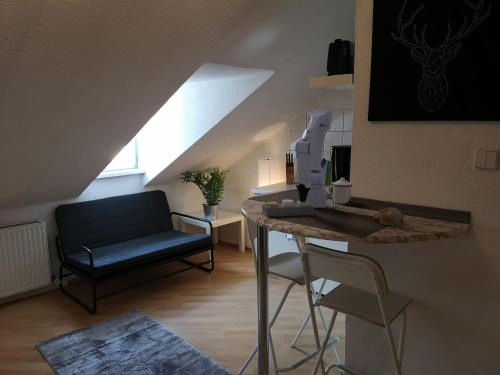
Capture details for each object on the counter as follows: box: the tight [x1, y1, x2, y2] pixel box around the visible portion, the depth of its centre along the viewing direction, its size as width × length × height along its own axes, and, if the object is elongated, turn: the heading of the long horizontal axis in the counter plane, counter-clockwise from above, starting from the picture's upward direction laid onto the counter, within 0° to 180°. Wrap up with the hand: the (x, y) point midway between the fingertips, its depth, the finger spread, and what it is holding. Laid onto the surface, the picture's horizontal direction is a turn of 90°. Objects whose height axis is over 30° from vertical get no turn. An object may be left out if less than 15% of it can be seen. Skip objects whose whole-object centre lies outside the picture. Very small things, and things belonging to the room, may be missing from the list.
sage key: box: [296, 200, 309, 206], centre depth 173 cm, size 4×4×4 cm
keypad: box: [261, 202, 315, 217], centre depth 172 cm, size 20×8×4 cm, turn 100°
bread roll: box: [374, 206, 405, 227], centre depth 158 cm, size 10×10×8 cm
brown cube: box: [266, 201, 279, 207], centre depth 171 cm, size 4×4×4 cm
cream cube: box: [281, 199, 295, 207], centre depth 172 cm, size 4×4×4 cm
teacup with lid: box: [327, 177, 353, 205], centre depth 197 cm, size 12×9×12 cm
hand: (302, 201), depth 173 cm, fingers closed, pressing on sage key
